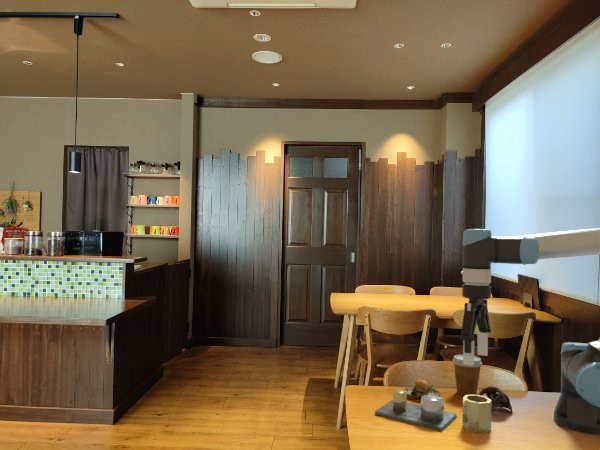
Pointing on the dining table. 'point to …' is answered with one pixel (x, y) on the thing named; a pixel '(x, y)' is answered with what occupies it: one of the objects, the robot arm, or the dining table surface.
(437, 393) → the burger
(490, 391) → the pottery mug
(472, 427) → the sleeve
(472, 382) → the disposable coffee cup
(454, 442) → the dining table surface
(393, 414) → the plate
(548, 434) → the dining table surface
